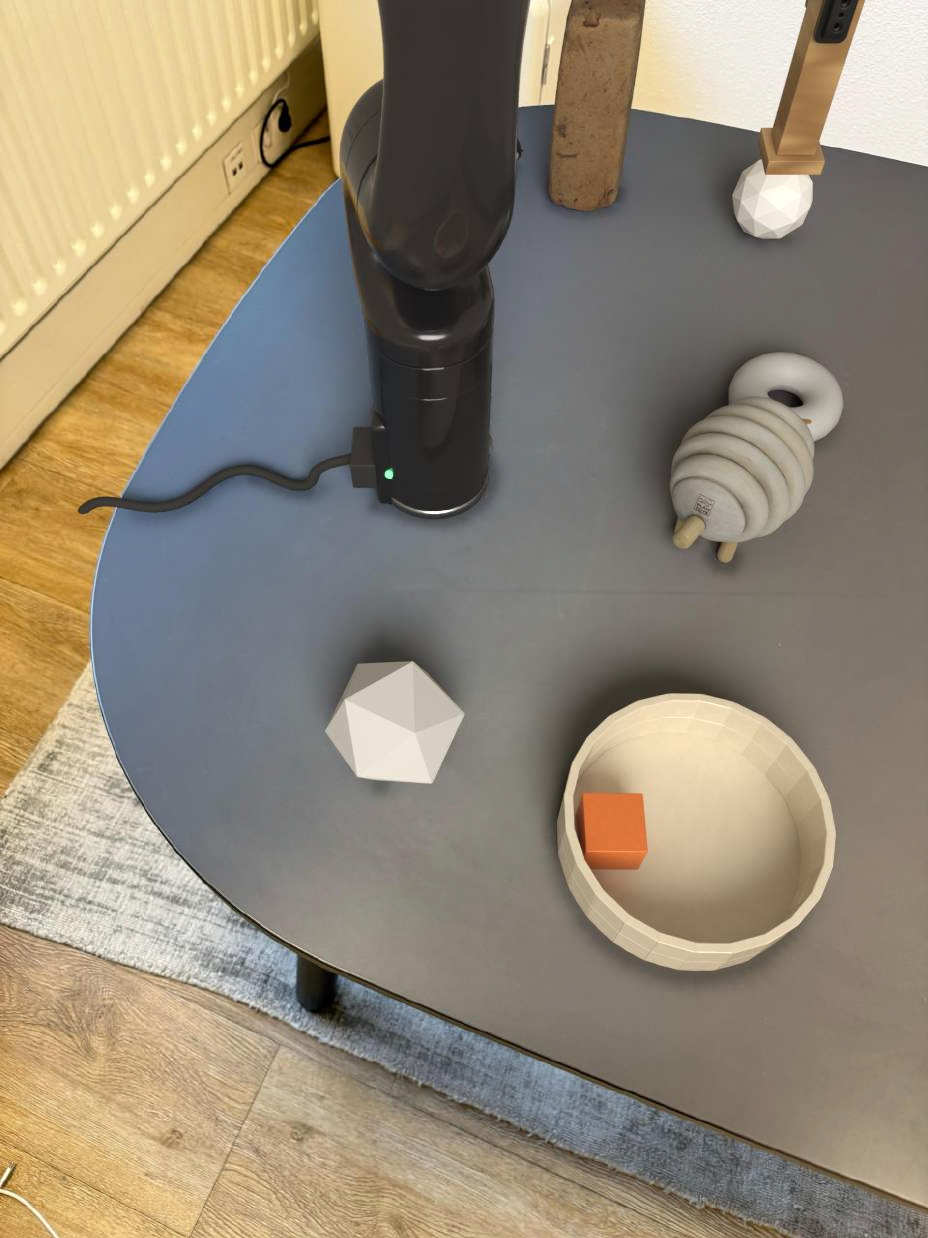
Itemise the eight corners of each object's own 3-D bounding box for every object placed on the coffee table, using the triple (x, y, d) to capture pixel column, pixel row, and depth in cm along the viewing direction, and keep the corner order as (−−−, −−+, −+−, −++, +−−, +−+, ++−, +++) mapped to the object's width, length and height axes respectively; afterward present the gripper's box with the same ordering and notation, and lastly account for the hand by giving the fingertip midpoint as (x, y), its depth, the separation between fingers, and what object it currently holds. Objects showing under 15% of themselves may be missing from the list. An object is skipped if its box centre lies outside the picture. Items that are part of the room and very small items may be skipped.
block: (612, 222, 101) (643, 22, 83) (541, 211, 101) (557, 11, 84) (626, 159, 106) (659, -41, 89) (559, 149, 107) (578, -51, 90)
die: (424, 674, 75) (333, 625, 68) (506, 708, 68) (416, 658, 61) (375, 775, 74) (278, 737, 66) (454, 819, 67) (356, 782, 60)
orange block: (579, 869, 66) (585, 851, 62) (576, 812, 68) (582, 792, 64) (638, 870, 66) (648, 852, 62) (633, 813, 68) (642, 793, 64)
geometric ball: (765, 241, 103) (822, 176, 99) (776, 266, 97) (838, 198, 93) (711, 197, 101) (767, 129, 97) (720, 220, 95) (780, 148, 91)
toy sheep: (819, 482, 83) (865, 390, 74) (734, 623, 76) (773, 541, 67) (708, 430, 86) (739, 335, 77) (616, 561, 79) (638, 475, 70)
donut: (847, 453, 85) (822, 369, 90) (861, 428, 82) (835, 341, 87) (734, 456, 85) (715, 371, 90) (744, 430, 82) (724, 344, 87)
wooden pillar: (764, 174, 77) (824, -34, 64) (757, 140, 79) (813, -68, 66) (820, 174, 77) (891, -34, 64) (811, 140, 79) (878, -68, 66)
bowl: (561, 970, 63) (570, 951, 58) (552, 727, 72) (559, 691, 66) (826, 974, 63) (859, 955, 58) (785, 730, 72) (810, 694, 66)
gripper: (833, -340, 58) (757, -26, 73) (880, -243, 51) (785, 83, 65) (959, -339, 58) (857, -25, 73) (1024, -242, 51) (896, 84, 65)
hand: (823, 25), depth 69 cm, fingers closed on wooden pillar, 3 cm apart
